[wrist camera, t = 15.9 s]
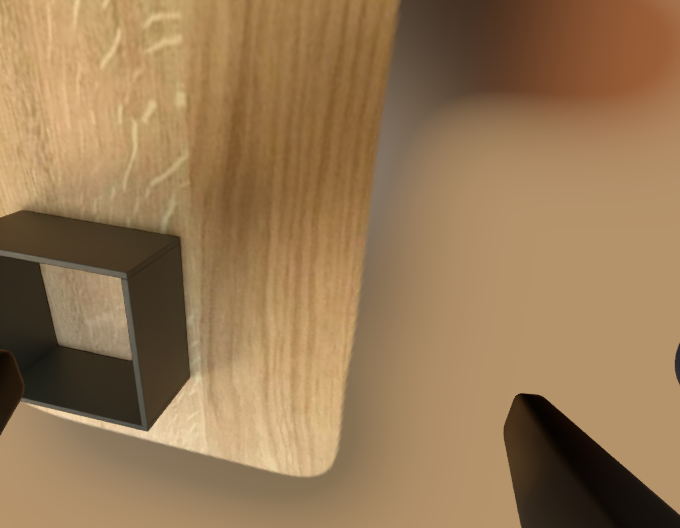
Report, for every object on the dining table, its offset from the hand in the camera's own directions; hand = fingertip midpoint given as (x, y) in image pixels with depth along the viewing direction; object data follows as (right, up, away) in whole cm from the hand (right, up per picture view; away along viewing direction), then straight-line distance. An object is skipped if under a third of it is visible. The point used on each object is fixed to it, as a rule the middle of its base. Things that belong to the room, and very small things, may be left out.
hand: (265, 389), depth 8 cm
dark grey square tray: (-11, 0, +15) cm, 19 cm away
